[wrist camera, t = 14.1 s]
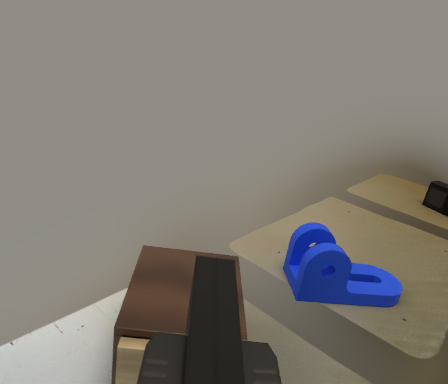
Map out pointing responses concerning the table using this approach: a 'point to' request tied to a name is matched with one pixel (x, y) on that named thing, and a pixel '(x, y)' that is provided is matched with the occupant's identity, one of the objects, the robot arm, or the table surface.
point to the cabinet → (163, 295)
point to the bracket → (334, 272)
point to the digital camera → (437, 197)
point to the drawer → (129, 359)
